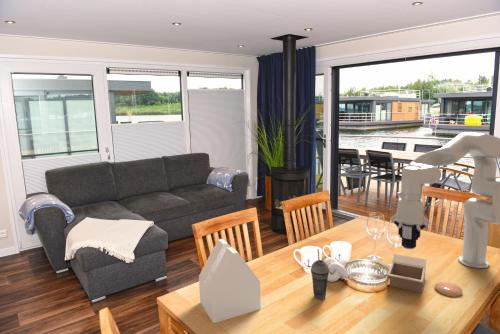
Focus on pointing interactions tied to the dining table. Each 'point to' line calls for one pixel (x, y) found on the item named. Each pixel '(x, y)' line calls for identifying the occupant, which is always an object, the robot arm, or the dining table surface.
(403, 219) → the robot arm
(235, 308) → the milk carton
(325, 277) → the beverage cup
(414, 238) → the beverage can
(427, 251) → the dining table surface
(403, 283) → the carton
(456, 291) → the coaster
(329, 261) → the white decorative knot
